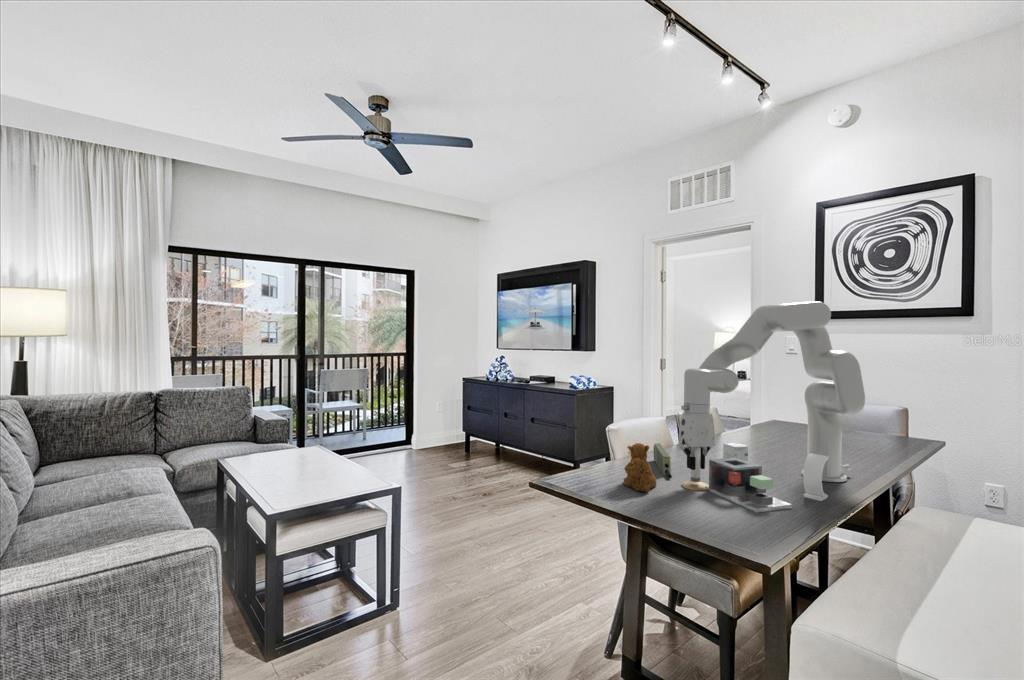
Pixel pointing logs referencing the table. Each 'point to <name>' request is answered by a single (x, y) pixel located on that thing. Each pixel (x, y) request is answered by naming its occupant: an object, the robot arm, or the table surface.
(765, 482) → the on button
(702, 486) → the cork coaster
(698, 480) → the white rounded rod
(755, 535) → the table surface
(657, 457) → the handheld radio
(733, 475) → the plunger
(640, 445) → the brown rounded furry figure
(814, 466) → the headphone stand
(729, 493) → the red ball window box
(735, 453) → the skincare box
